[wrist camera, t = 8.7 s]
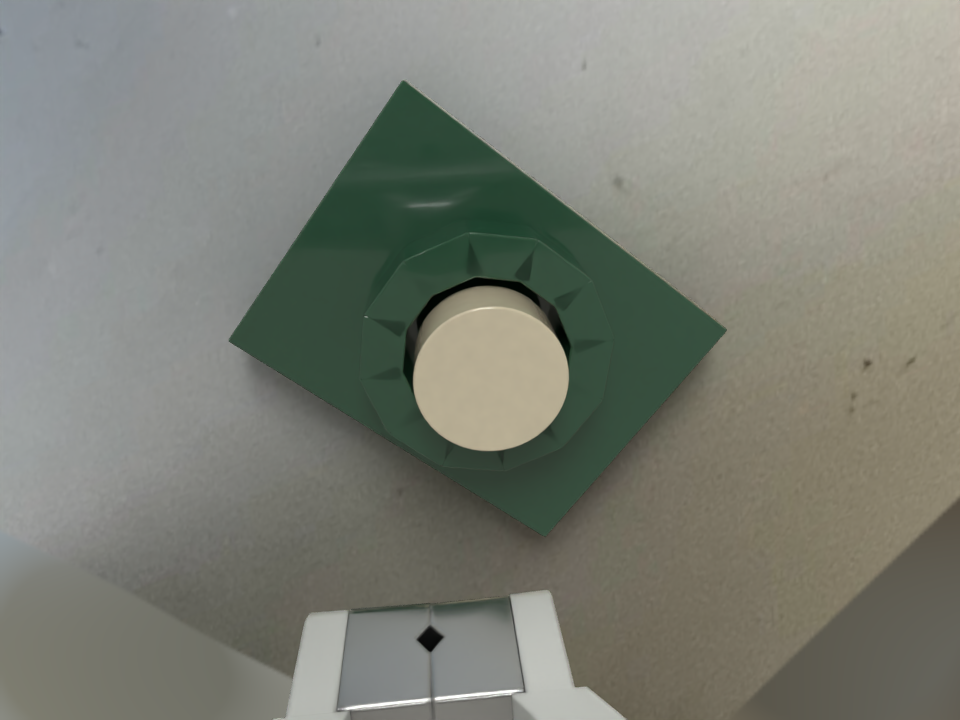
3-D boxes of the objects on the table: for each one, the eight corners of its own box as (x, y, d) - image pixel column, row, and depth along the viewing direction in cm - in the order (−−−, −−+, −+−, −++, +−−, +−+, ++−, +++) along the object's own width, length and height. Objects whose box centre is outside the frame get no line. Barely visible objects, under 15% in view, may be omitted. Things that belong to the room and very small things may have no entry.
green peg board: (242, 320, 24) (208, 366, 20) (404, 78, 22) (400, 79, 18) (537, 506, 27) (554, 575, 24) (706, 311, 25) (754, 353, 21)
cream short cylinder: (385, 370, 21) (381, 399, 19) (471, 256, 20) (475, 275, 18) (499, 443, 22) (506, 478, 20) (585, 338, 21) (601, 364, 19)
